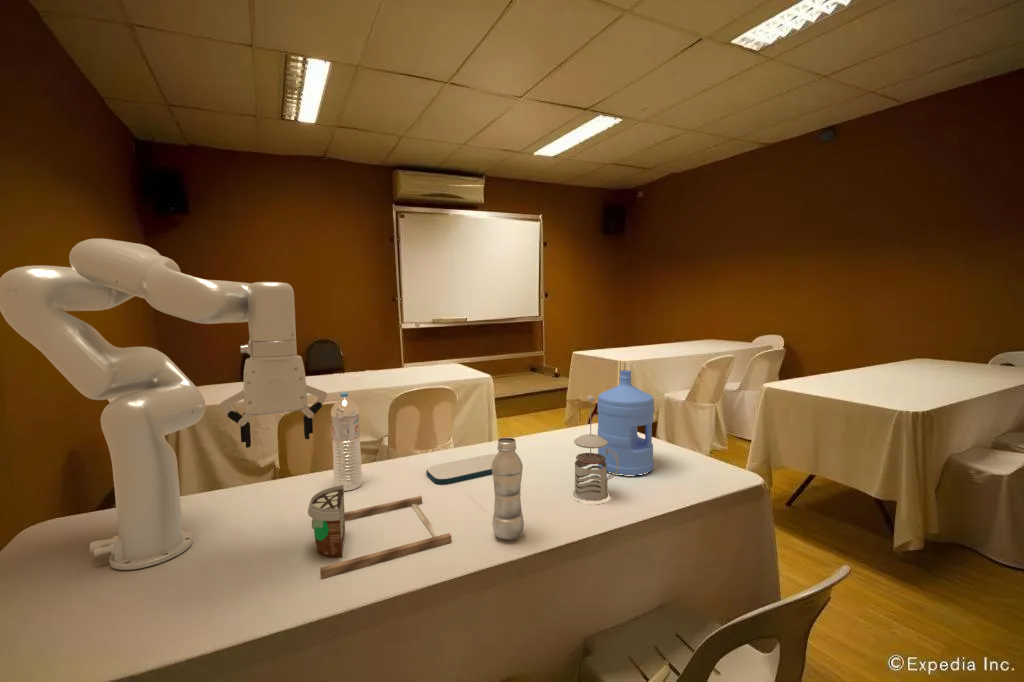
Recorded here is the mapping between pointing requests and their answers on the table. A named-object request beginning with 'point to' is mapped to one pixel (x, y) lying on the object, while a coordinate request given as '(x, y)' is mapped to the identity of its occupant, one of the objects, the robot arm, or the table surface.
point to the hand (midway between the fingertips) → (278, 441)
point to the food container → (328, 521)
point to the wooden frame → (392, 552)
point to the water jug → (626, 427)
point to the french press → (593, 488)
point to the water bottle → (346, 443)
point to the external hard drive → (461, 470)
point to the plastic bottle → (507, 491)
